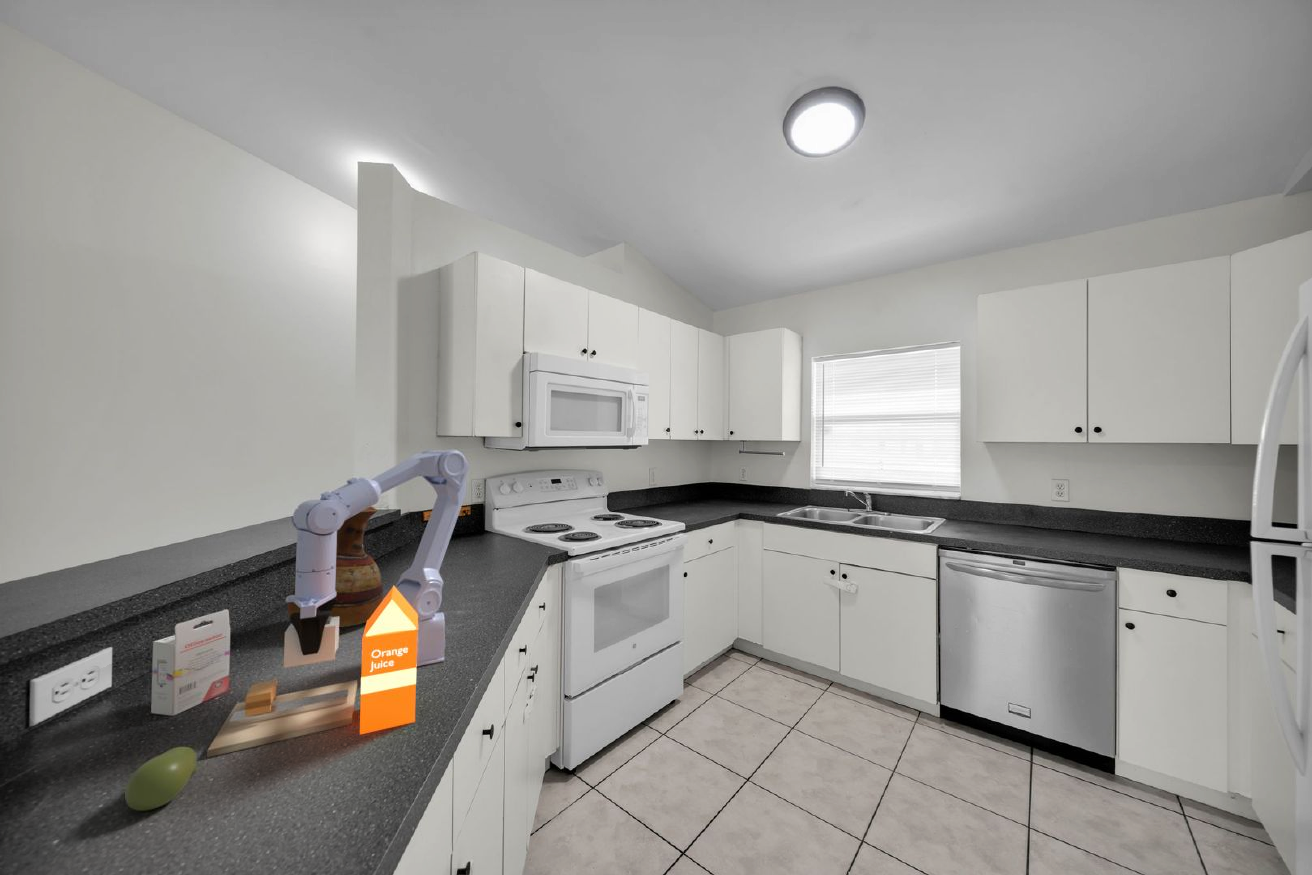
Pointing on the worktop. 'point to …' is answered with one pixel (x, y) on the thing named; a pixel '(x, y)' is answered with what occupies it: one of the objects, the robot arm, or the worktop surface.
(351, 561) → the ceramic pitcher
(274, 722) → the mounting board
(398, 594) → the orange juice
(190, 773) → the olive green oval piece
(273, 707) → the steel rail
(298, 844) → the worktop surface
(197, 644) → the ink cartridge box
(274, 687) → the block
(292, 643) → the block
